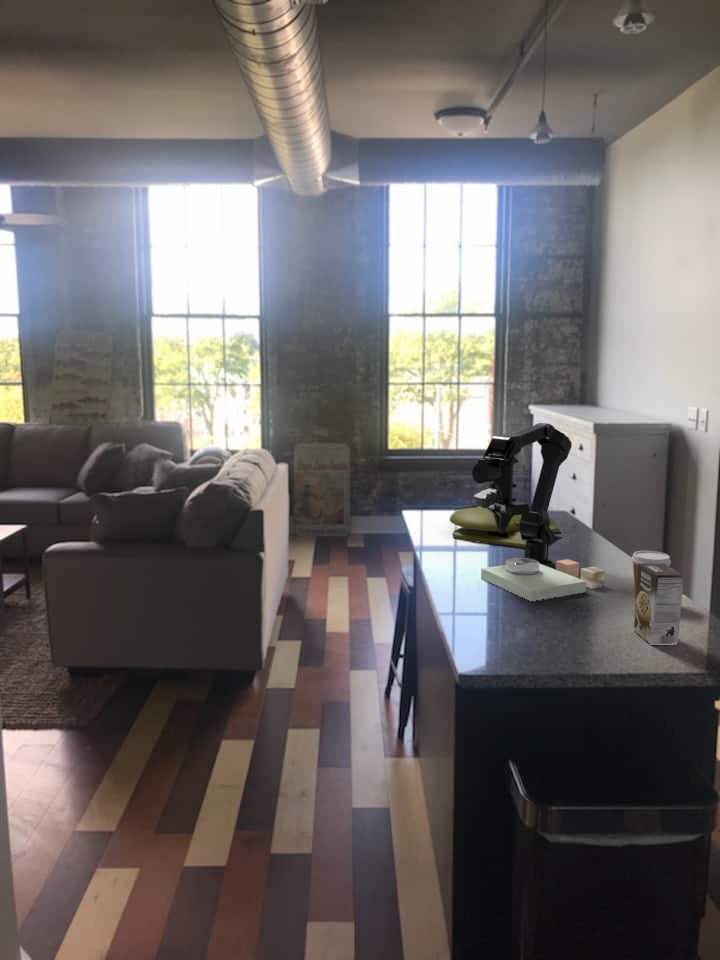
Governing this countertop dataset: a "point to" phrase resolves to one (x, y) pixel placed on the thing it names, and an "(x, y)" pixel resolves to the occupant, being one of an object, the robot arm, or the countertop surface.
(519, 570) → the metal puck
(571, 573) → the terracotta cube
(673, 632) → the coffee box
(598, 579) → the birch cube
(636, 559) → the disposable coffee cup
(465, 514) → the spaceship
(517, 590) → the pocket deck
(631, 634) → the countertop surface
